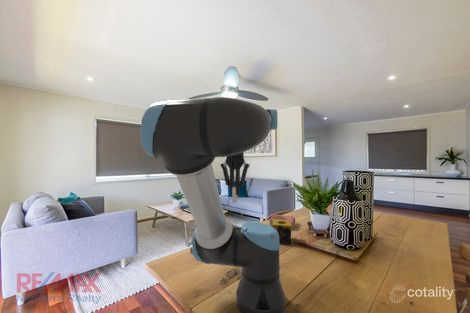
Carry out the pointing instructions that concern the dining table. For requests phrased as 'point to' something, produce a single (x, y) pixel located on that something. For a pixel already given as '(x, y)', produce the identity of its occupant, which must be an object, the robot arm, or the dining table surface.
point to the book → (292, 219)
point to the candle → (283, 230)
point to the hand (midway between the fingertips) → (234, 202)
